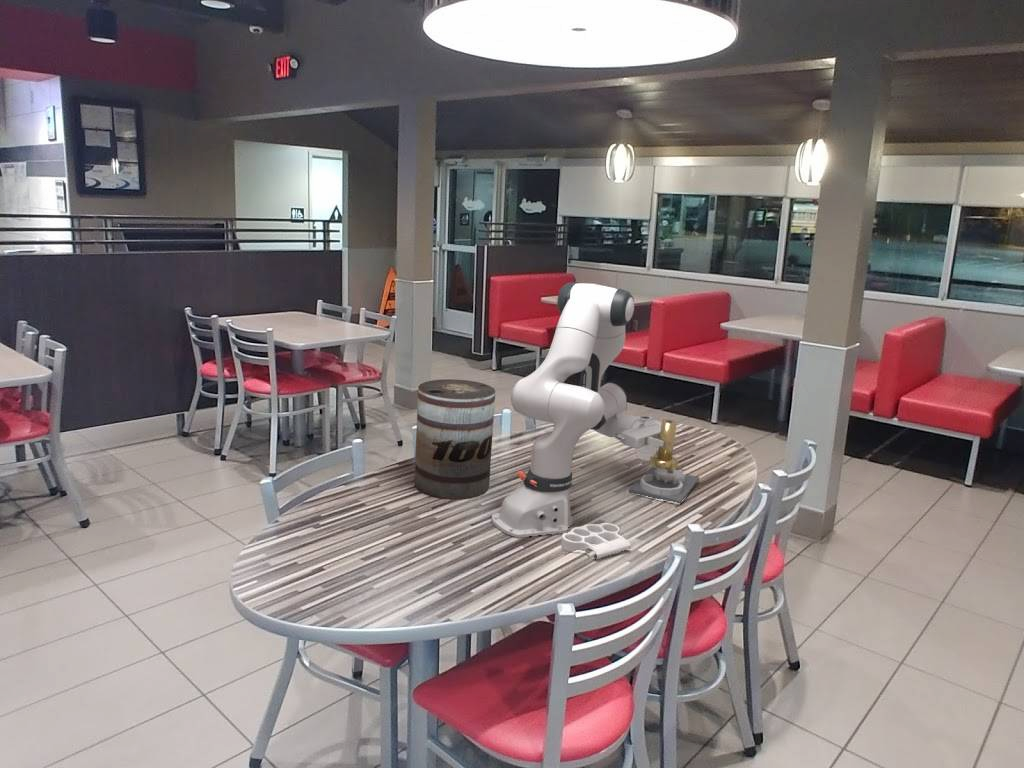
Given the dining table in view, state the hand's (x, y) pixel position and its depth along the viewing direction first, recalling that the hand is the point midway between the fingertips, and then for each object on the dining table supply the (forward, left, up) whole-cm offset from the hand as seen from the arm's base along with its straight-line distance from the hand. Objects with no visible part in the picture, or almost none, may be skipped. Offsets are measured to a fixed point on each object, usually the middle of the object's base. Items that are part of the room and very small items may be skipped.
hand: (669, 442), depth 230 cm
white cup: (+17, +27, -17) cm, 36 cm away
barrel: (-58, +29, -17) cm, 67 cm away
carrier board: (+4, +3, -17) cm, 17 cm away
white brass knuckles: (-42, -20, -17) cm, 50 cm away
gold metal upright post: (0, +1, -8) cm, 8 cm away
